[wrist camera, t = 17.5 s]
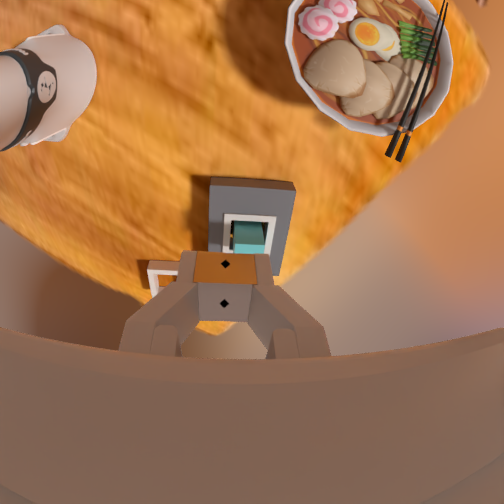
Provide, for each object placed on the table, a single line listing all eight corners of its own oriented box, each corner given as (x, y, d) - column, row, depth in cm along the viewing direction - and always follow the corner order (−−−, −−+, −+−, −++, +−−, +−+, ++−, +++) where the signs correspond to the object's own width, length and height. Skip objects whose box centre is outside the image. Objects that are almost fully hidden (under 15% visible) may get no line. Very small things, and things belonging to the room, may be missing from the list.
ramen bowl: (304, -51, 19) (320, -72, 13) (440, 22, 24) (474, 23, 18) (250, 99, 34) (254, 109, 27) (391, 150, 39) (418, 171, 32)
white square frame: (154, 289, 54) (152, 298, 52) (149, 260, 49) (146, 269, 47) (192, 291, 55) (191, 301, 53) (190, 262, 50) (189, 271, 48)
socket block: (209, 261, 50) (207, 274, 48) (211, 176, 41) (209, 186, 38) (276, 264, 52) (279, 276, 49) (292, 182, 42) (296, 191, 39)
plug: (232, 234, 47) (233, 266, 41) (234, 213, 45) (235, 243, 38) (257, 235, 48) (261, 267, 41) (259, 214, 45) (265, 245, 39)
